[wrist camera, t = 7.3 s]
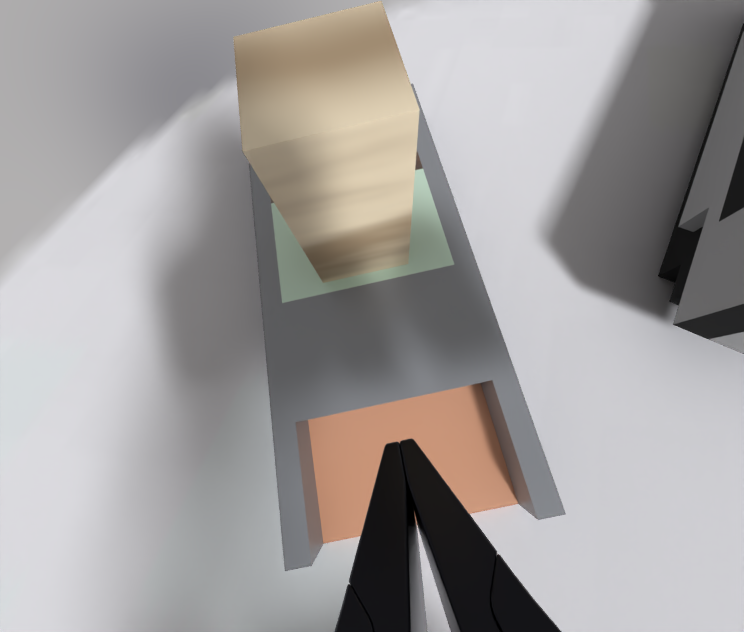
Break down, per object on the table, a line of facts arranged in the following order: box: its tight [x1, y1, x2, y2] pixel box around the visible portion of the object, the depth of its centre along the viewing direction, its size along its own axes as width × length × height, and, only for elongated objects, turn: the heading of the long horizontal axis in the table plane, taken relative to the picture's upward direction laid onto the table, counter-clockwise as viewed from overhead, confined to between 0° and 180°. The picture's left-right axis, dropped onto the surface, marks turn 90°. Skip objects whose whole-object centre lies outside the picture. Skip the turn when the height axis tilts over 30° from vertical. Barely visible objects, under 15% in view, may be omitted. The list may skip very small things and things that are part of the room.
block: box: [234, 1, 420, 283], centre depth 13 cm, size 5×5×9 cm
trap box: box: [249, 84, 566, 571], centre depth 18 cm, size 27×12×2 cm, turn 12°
